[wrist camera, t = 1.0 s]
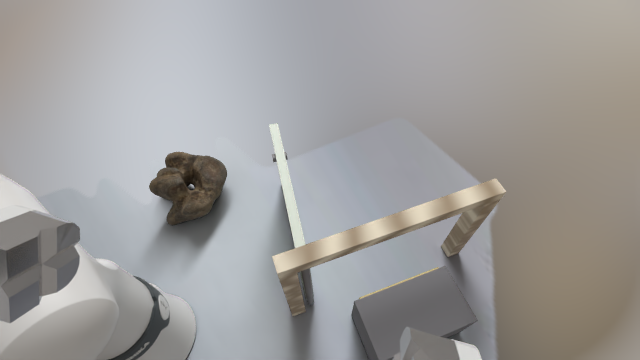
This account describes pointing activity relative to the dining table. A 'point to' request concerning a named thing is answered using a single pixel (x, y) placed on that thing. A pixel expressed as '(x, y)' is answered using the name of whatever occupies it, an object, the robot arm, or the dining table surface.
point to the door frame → (390, 234)
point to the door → (291, 206)
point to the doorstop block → (411, 312)
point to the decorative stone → (180, 175)
